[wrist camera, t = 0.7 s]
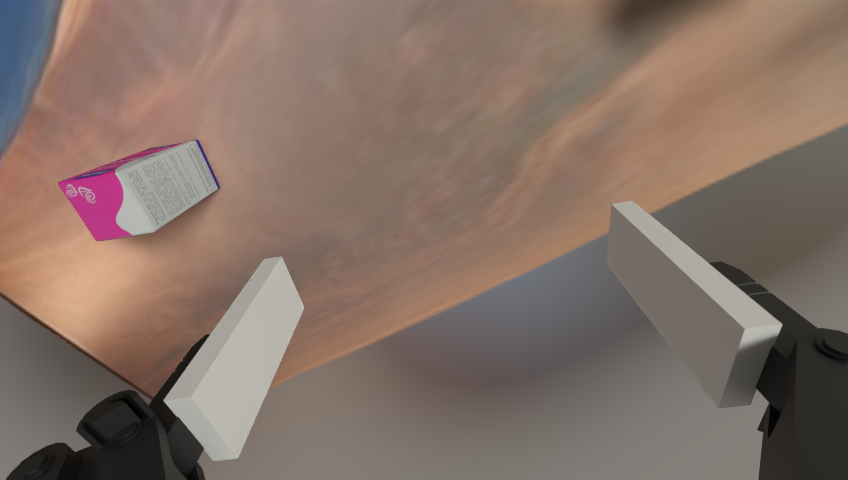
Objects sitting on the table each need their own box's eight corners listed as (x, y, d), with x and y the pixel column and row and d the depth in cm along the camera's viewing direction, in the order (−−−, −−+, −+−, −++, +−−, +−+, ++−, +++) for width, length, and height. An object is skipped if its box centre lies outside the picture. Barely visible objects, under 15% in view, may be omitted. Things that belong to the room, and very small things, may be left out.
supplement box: (197, 136, 39) (118, 171, 29) (222, 188, 42) (157, 236, 32) (147, 145, 39) (52, 183, 29) (175, 195, 42) (97, 245, 32)
